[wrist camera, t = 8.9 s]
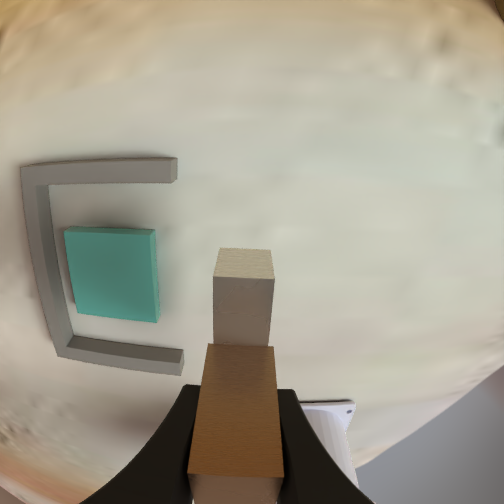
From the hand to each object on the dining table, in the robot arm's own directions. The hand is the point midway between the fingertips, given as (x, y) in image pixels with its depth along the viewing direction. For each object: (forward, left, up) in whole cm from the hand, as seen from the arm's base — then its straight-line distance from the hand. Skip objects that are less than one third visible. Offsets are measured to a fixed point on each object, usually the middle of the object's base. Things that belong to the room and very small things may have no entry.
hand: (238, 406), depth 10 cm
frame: (0, +9, -10) cm, 13 cm away
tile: (0, +8, -11) cm, 14 cm away
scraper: (0, 0, -4) cm, 4 cm away
